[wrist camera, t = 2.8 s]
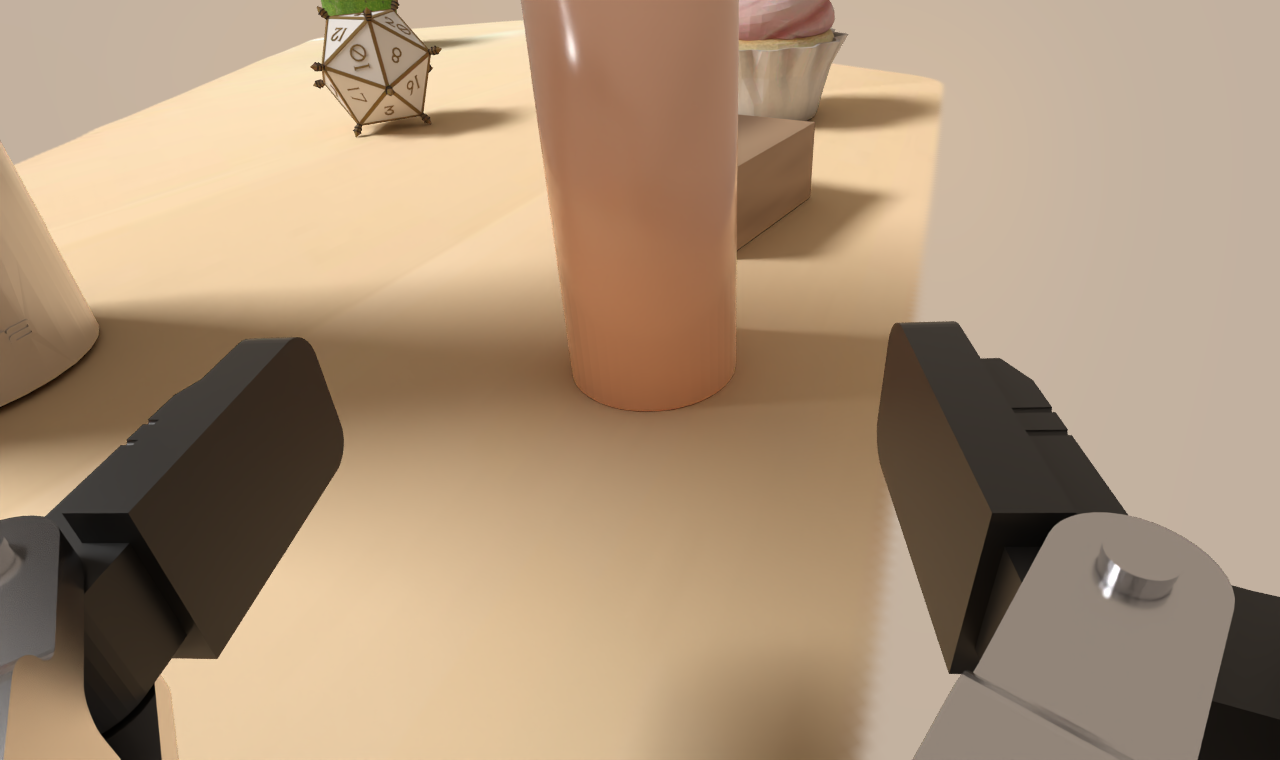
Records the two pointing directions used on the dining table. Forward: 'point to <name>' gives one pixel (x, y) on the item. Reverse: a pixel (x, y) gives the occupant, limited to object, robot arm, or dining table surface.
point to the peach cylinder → (641, 190)
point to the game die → (375, 66)
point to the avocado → (353, 6)
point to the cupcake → (785, 56)
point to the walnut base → (771, 171)
